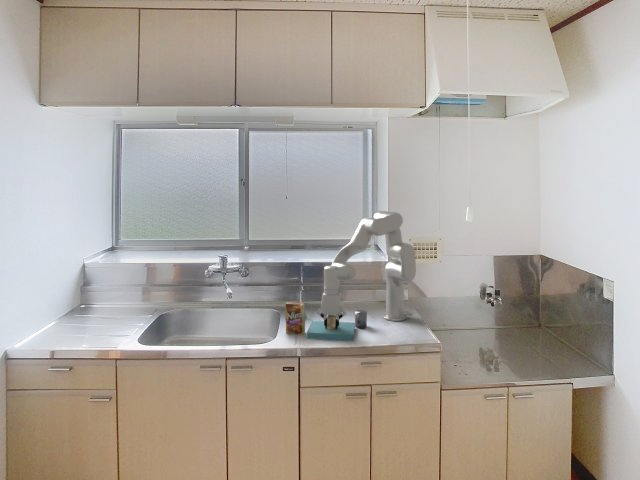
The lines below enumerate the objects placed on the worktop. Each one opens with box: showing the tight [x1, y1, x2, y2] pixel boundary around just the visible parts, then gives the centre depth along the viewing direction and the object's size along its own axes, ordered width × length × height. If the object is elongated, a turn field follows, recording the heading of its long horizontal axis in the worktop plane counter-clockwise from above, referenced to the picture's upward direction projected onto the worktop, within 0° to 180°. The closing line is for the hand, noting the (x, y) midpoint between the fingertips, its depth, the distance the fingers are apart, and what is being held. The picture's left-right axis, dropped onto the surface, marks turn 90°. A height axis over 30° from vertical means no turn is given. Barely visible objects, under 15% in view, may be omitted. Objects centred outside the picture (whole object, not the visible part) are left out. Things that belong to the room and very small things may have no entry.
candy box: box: [285, 301, 306, 336], centre depth 187 cm, size 9×4×15 cm, turn 73°
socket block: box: [306, 320, 356, 342], centre depth 187 cm, size 22×16×3 cm
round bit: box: [354, 309, 368, 330], centre depth 196 cm, size 6×6×8 cm
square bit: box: [327, 314, 337, 330], centre depth 187 cm, size 4×4×9 cm
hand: (331, 326), depth 187 cm, fingers open, 4 cm apart
